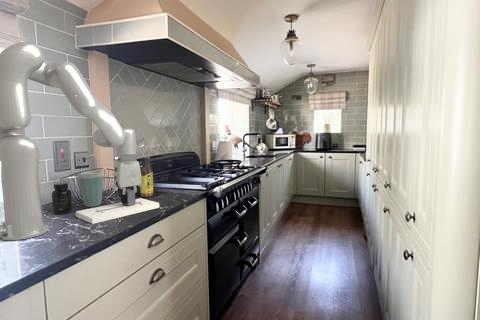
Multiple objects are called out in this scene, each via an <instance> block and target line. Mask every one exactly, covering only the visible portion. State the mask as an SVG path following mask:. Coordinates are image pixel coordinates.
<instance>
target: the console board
mask: <svg viewBox="0 0 480 320" xmlns="http://www.w3.org/2000/svg"><path fill="white" fill-rule="evenodd" d="M158 208H160V202H157V201H153V200H149V199H145V198H143V197H139V198H136V199H135V205H131V206H127V205H124V204H122V202H121V201H120V202H116V203H111V204H107V205H106V204H105V205H99V206H94V207H91V208H86V209H82V210H77V211H75V217H76V218H78V219H80V220H82V221H85V222H88V223H90V224H92V225H93V224H97V223H98V224H99V223H102V222H106V221H110V220H114V219H118V218H123V217H127V216H130V215H134V214H138V213H142V212H147V211H150V210H151V211H152V210H155V209H158Z"/></svg>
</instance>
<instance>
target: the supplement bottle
mask: <svg viewBox="0 0 480 320" xmlns="http://www.w3.org/2000/svg"><path fill="white" fill-rule="evenodd" d="M53 189H54V190H53V191H51V201H52V202H51V203H52V213H53V214H54V215H57V216H61V215H68V214H71V213H72V212H73V211H74V210H73V195H72V190H71V189H69V182H64V181H63V182H55V183H53Z"/></svg>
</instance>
